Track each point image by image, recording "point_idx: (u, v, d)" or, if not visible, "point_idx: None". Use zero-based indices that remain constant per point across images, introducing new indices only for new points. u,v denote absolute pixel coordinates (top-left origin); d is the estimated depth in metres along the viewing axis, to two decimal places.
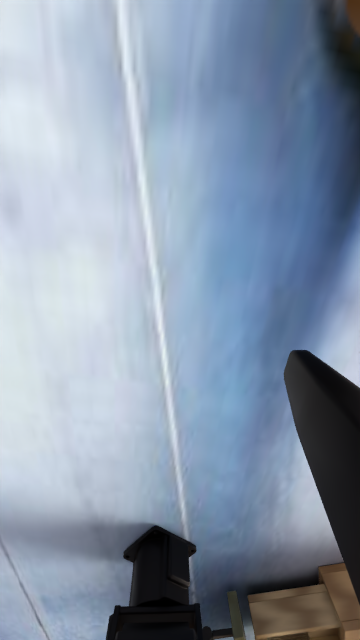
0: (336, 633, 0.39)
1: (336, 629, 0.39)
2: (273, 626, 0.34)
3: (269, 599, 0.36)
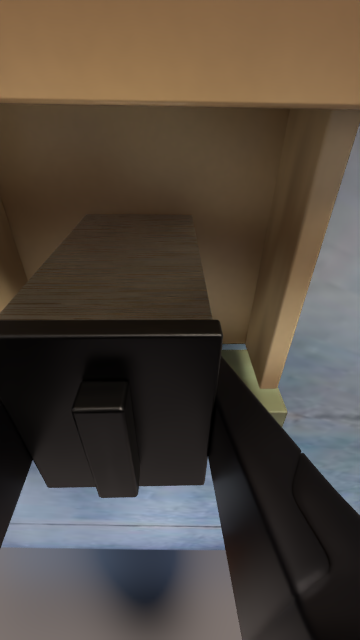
0: None
1: None
2: None
3: None
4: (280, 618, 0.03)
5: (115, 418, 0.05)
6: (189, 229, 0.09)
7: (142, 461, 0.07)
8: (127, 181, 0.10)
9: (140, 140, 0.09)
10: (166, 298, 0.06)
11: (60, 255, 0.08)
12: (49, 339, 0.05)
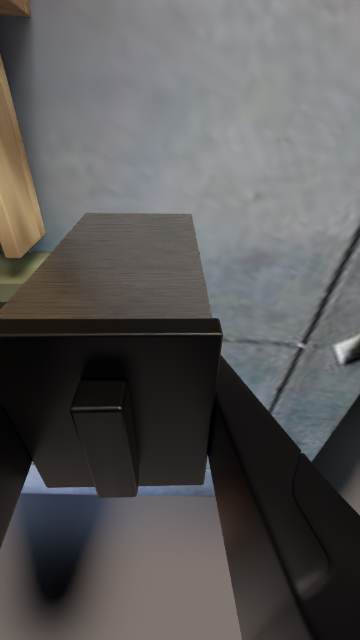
0: None
1: None
2: None
3: None
4: (280, 618, 0.03)
5: (114, 417, 0.05)
6: (188, 228, 0.09)
7: (141, 461, 0.07)
8: None
9: None
10: (166, 296, 0.06)
11: (59, 254, 0.07)
12: (47, 338, 0.05)
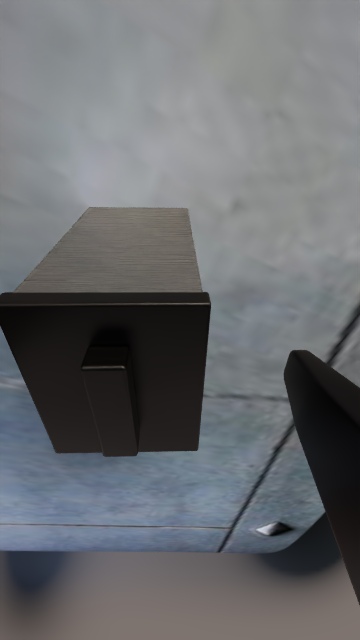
0: None
1: None
2: None
3: None
4: None
5: (118, 375, 0.06)
6: (184, 220, 0.10)
7: (141, 426, 0.08)
8: None
9: None
10: (163, 276, 0.07)
11: (67, 242, 0.08)
12: (61, 307, 0.06)
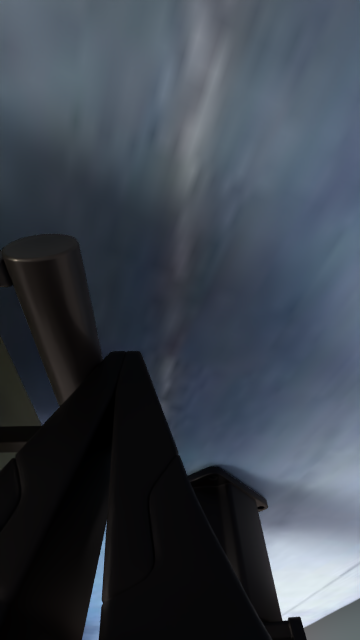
0: None
1: None
2: None
3: None
4: None
5: None
6: None
7: None
8: None
9: None
10: None
11: None
12: None
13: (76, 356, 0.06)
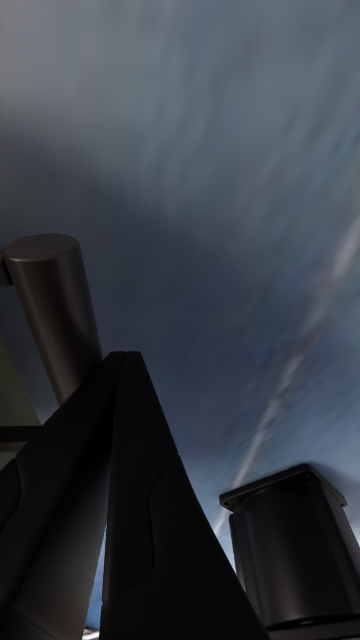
0: None
1: None
2: None
3: None
4: None
5: None
6: None
7: None
8: None
9: None
10: None
11: None
12: None
13: (77, 356, 0.06)
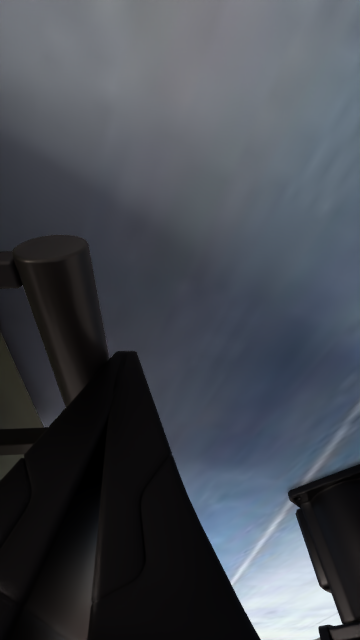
0: None
1: None
2: None
3: None
4: None
5: None
6: None
7: None
8: None
9: None
10: None
11: None
12: None
13: (85, 356, 0.06)
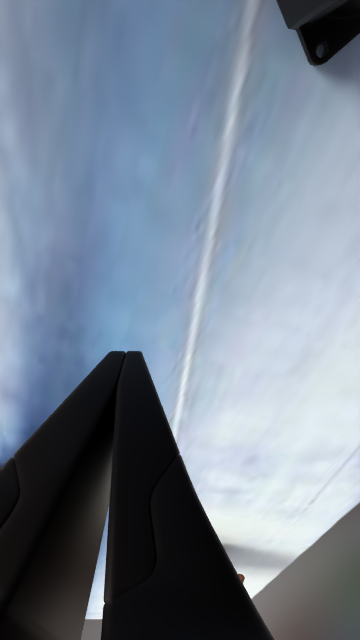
0: None
1: None
2: None
3: None
4: None
5: None
6: None
7: None
8: None
9: None
10: None
11: None
12: None
13: None
